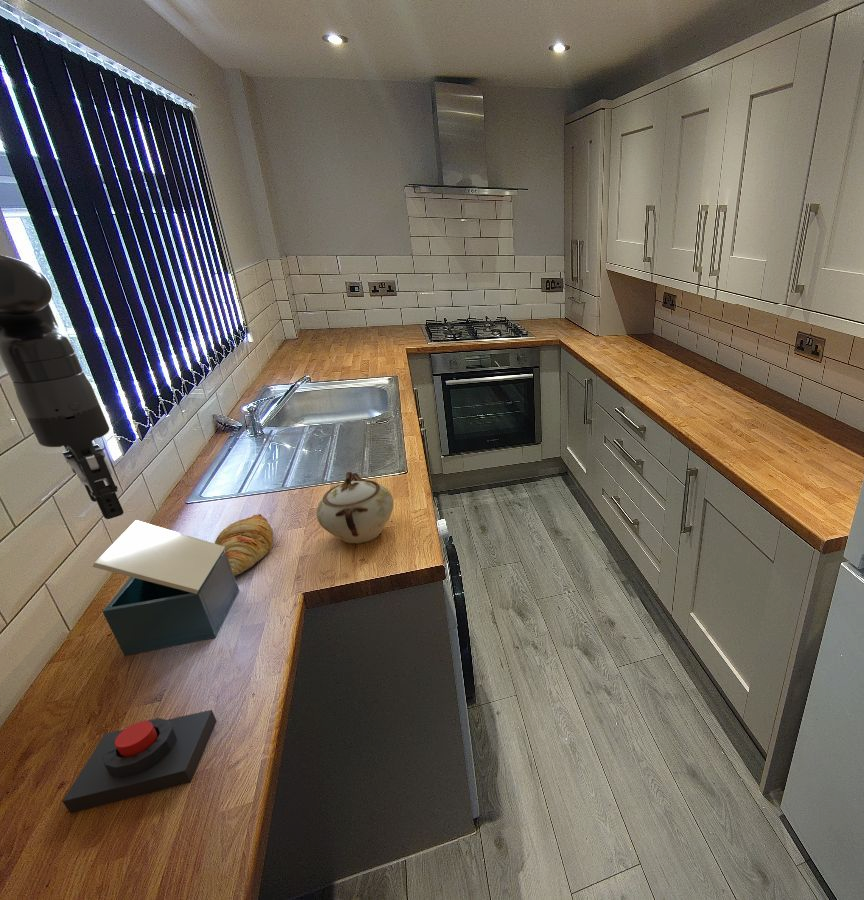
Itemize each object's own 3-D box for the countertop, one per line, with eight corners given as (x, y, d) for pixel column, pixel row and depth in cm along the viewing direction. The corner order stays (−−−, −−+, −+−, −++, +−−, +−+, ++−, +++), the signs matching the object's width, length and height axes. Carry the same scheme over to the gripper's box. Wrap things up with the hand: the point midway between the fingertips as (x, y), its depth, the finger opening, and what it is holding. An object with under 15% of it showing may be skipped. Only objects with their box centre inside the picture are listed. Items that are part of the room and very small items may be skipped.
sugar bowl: (397, 551, 108) (384, 486, 102) (317, 566, 103) (298, 499, 97) (398, 506, 125) (387, 448, 119) (329, 517, 120) (314, 458, 114)
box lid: (92, 566, 76) (94, 562, 76) (134, 523, 87) (136, 519, 87) (196, 594, 82) (198, 590, 82) (223, 550, 93) (225, 546, 93)
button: (113, 761, 62) (108, 751, 62) (128, 735, 65) (123, 725, 65) (149, 752, 63) (144, 742, 63) (162, 727, 66) (157, 717, 66)
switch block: (70, 813, 60) (55, 791, 59) (111, 745, 68) (98, 723, 67) (191, 782, 63) (179, 760, 62) (216, 720, 71) (207, 699, 70)
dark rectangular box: (123, 655, 82) (101, 611, 79) (159, 604, 94) (141, 563, 90) (215, 637, 86) (198, 594, 82) (239, 590, 97) (225, 550, 93)
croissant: (256, 592, 101) (268, 558, 100) (194, 583, 97) (205, 547, 95) (277, 534, 120) (287, 504, 118) (225, 524, 115) (235, 493, 113)
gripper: (17, 404, 75) (65, 503, 81) (33, 425, 67) (85, 533, 73) (87, 391, 80) (126, 485, 87) (109, 410, 72) (151, 512, 79)
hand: (107, 507), depth 80 cm, fingers open, 8 cm apart
